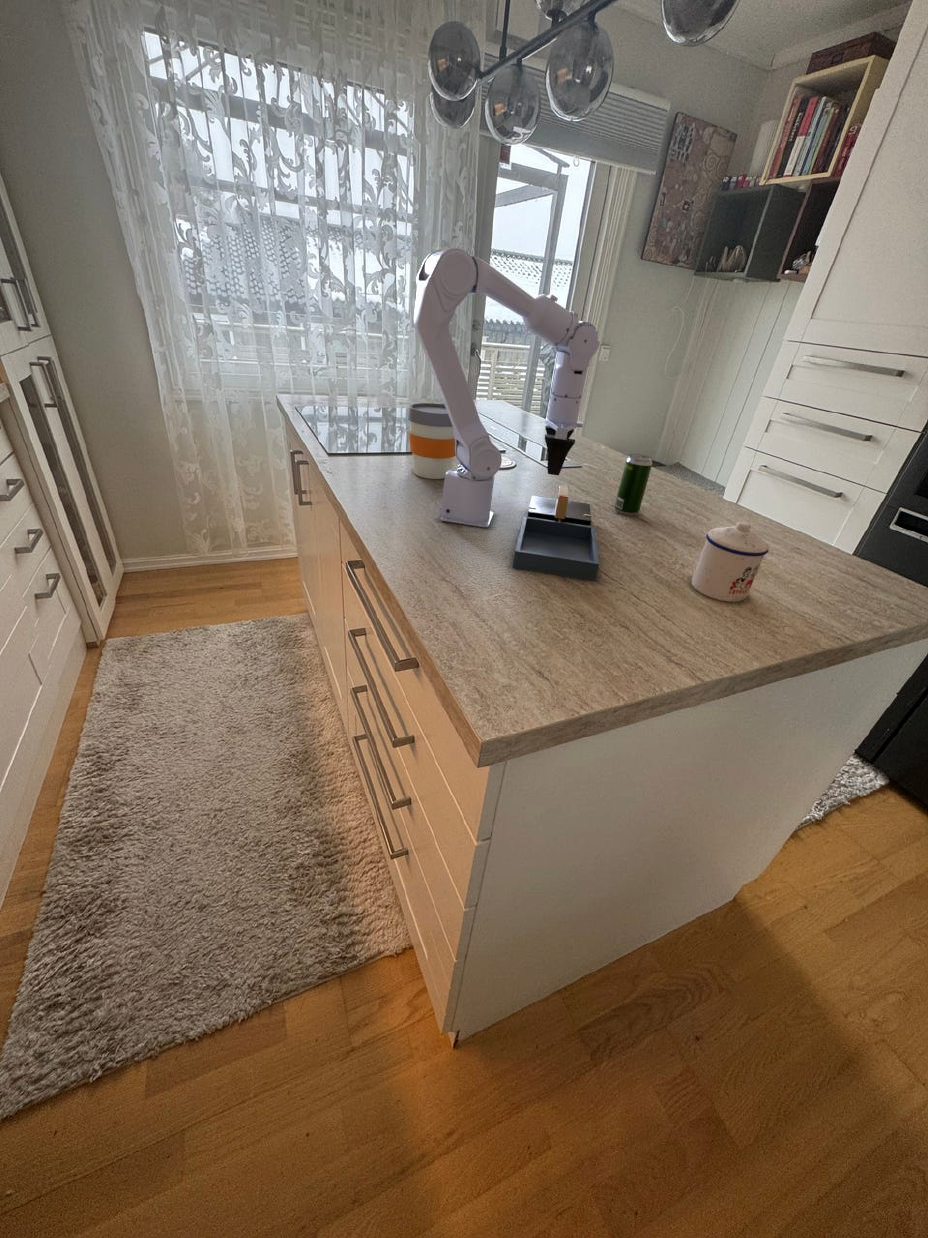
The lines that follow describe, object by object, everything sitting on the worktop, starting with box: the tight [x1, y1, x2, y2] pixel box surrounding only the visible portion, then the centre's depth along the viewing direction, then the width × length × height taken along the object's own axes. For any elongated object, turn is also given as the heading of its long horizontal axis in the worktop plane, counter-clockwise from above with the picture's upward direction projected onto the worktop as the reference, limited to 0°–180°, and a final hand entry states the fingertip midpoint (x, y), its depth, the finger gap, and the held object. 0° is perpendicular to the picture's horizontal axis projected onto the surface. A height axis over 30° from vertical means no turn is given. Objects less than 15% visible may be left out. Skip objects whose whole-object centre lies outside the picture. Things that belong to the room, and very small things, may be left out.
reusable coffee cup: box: [407, 402, 456, 480], centre depth 122 cm, size 13×13×15 cm
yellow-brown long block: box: [555, 484, 570, 519], centre depth 99 cm, size 8×2×4 cm, turn 170°
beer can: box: [614, 453, 653, 517], centre depth 111 cm, size 5×5×12 cm
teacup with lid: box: [691, 521, 770, 603], centre depth 83 cm, size 12×9×12 cm
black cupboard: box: [527, 495, 592, 526], centre depth 102 cm, size 14×12×4 cm
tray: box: [512, 516, 600, 582], centre depth 91 cm, size 14×17×3 cm
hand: (553, 468), depth 102 cm, fingers open, 7 cm apart
